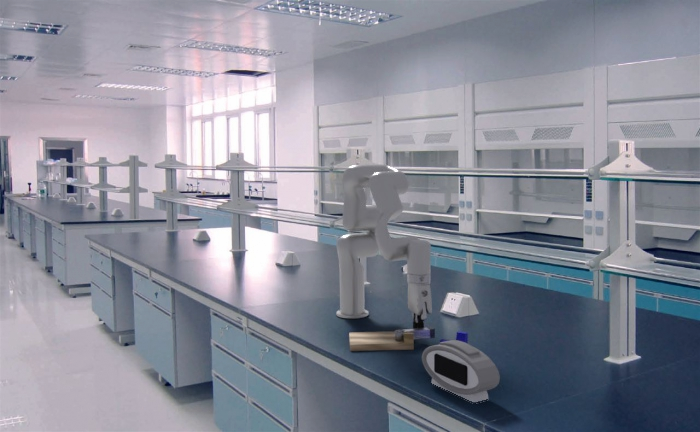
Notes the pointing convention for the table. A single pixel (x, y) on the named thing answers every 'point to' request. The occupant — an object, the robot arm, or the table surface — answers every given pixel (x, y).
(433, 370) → the alarm clock
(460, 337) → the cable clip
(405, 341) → the stool seat
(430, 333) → the folding leg
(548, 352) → the table surface
